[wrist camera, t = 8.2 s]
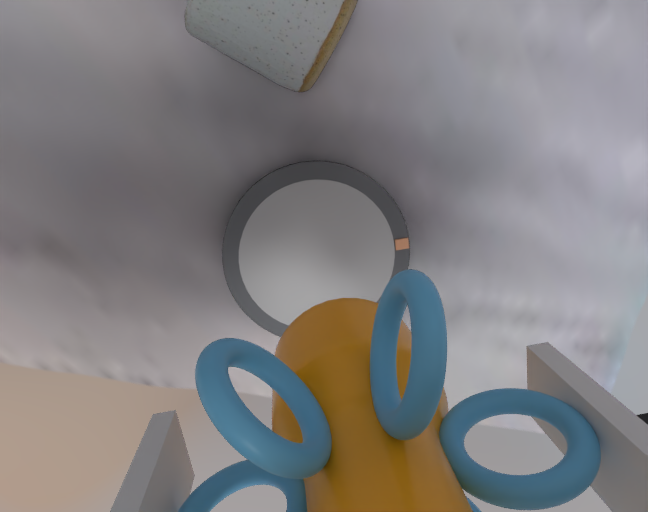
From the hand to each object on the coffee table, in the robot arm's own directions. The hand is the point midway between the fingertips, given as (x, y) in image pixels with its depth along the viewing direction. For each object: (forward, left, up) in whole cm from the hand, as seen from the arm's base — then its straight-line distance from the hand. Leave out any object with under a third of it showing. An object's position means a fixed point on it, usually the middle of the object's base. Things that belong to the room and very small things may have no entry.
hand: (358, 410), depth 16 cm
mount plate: (0, 0, -20) cm, 20 cm away
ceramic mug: (0, +18, -20) cm, 27 cm away
